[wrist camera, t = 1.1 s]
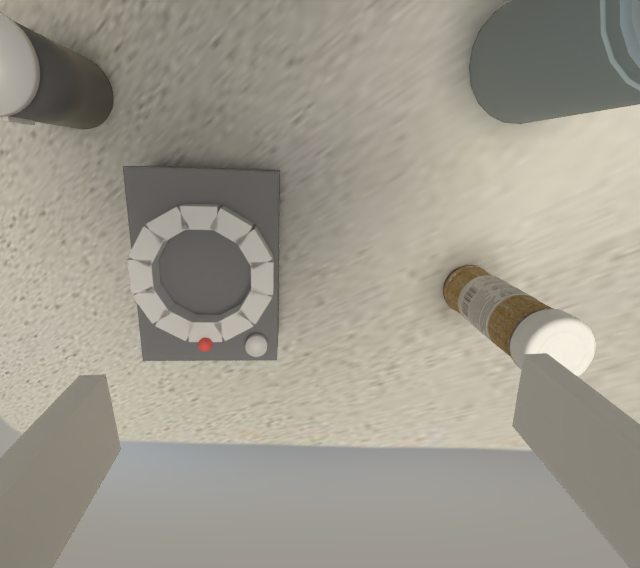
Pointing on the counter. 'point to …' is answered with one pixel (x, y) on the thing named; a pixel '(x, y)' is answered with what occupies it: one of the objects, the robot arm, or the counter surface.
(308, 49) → the counter surface
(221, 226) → the grey block with ring
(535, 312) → the sprinkles bottle
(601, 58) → the spray bottle
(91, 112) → the grey cylinder
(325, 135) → the counter surface
